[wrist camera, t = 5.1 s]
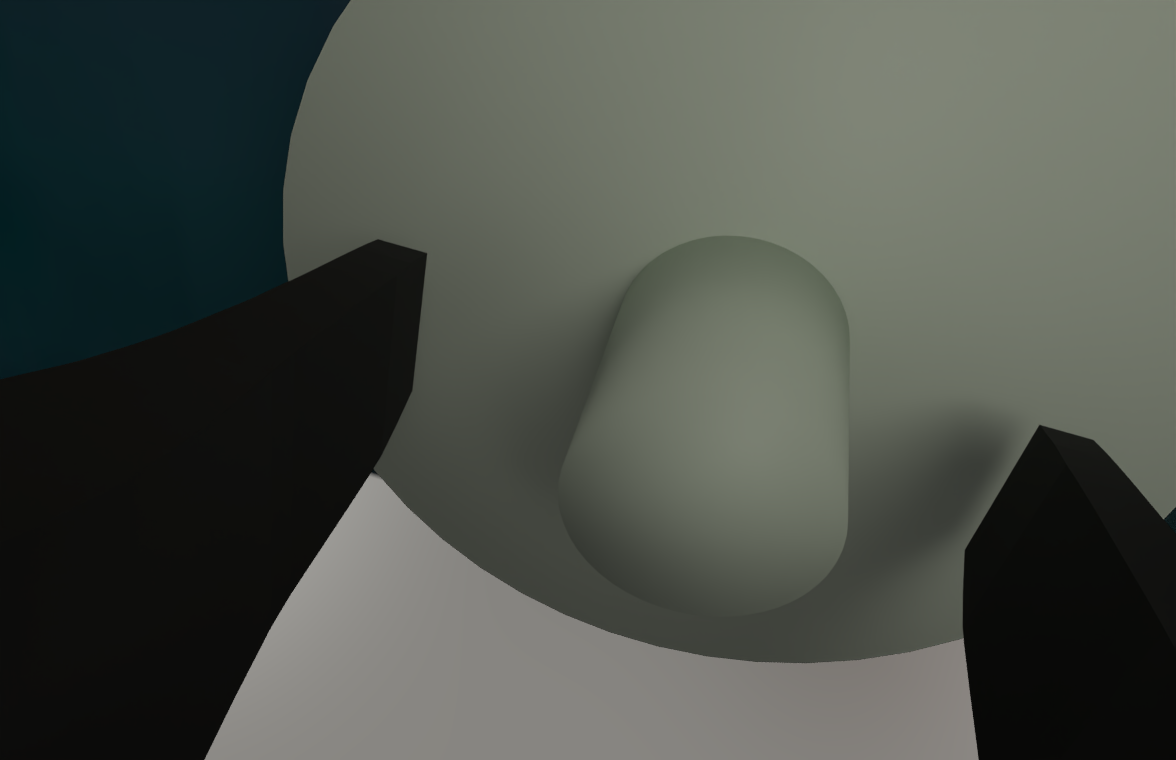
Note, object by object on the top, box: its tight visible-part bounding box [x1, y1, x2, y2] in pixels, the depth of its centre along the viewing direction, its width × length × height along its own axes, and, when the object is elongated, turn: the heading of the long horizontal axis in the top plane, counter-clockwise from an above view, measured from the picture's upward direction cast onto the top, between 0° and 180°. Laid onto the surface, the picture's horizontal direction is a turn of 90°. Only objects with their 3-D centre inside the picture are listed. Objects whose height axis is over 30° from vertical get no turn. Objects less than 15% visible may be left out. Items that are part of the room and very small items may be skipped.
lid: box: [283, 0, 1176, 663], centre depth 11 cm, size 12×12×4 cm
